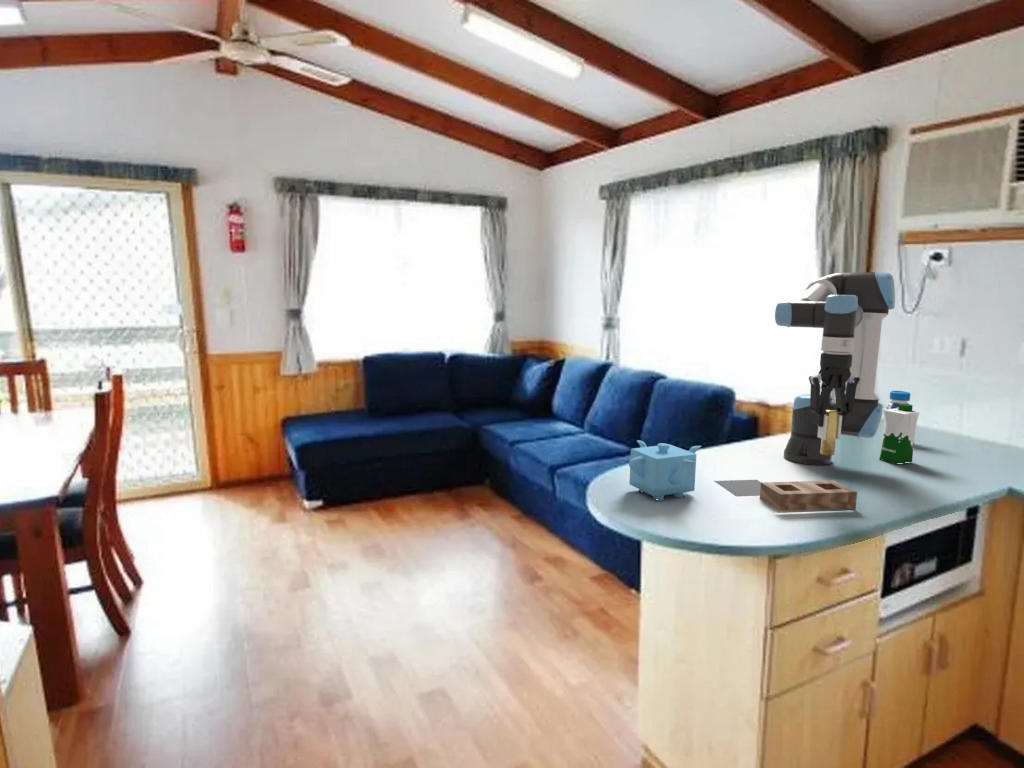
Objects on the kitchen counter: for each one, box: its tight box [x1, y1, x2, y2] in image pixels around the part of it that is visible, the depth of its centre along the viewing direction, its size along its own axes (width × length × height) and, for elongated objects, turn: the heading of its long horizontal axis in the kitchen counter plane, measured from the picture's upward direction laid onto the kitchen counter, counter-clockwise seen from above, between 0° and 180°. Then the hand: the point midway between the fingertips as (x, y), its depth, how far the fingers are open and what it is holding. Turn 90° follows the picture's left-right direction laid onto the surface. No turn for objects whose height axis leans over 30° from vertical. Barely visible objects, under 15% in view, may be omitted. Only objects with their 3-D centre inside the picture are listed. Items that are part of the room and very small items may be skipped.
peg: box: [820, 410, 838, 456], centre depth 166 cm, size 4×4×12 cm
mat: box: [714, 479, 763, 497], centre depth 180 cm, size 14×14×1 cm
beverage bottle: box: [885, 390, 911, 410], centre depth 239 cm, size 8×8×20 cm
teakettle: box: [628, 439, 702, 501], centre depth 174 cm, size 19×19×15 cm
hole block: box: [759, 479, 858, 512], centre depth 167 cm, size 22×10×5 cm, turn 97°
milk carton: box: [879, 403, 920, 464], centre depth 210 cm, size 9×9×20 cm
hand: (828, 437), depth 166 cm, fingers closed on peg, 3 cm apart
